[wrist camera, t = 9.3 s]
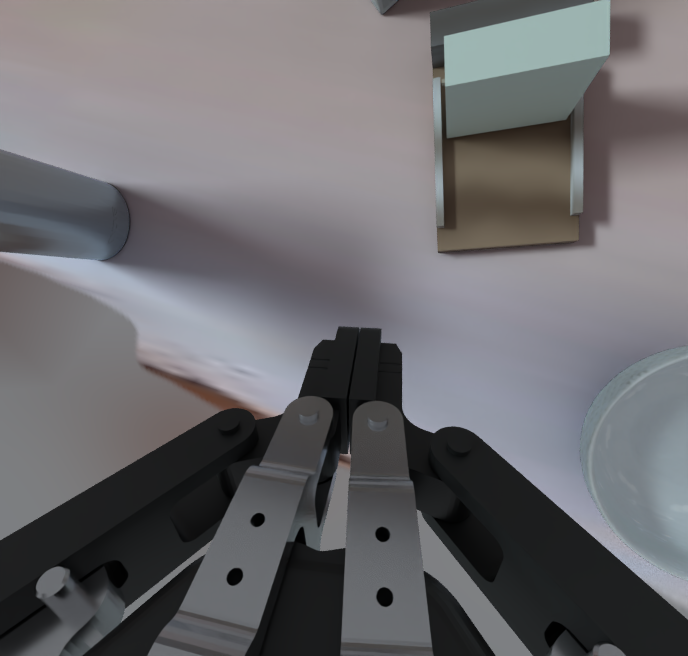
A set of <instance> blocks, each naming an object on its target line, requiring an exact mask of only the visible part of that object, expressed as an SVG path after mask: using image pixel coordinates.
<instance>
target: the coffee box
mask: <svg viewBox="0 0 688 656" xmlns="http://www.w3.org/2000/svg"><path fill="white" fill-rule="evenodd" d="M371 1H372V3H373V4H374V6H375V7H376V8H377V10H378V11H379V13H380V14H384V13H385V12H386V11H387V10H388V9H389V8H390V7H391V6H393V5H394V4H395V3H396V2H397V1H398V0H371Z"/></svg>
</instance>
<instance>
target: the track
mask: <svg viewBox="0 0 688 656" xmlns="http://www.w3.org/2000/svg"><path fill="white" fill-rule="evenodd" d="M591 2H594V0H478V1H474V2H470V3H466V4H462V5H458V6H454V7H450V8H446V9H442V10H438V11H433V12H430V28H431V53H432V65H433V107H434V144H435V181H436V218H437V241H438V253H441V252H454V251H467V250H480V249H493V248H507V247H520V246H533V245H546V244H559V243H572V242H575V241H578V240H579V214H581V213H583V124H584V94H583V95H582V97H581V98H580V100H579V101H578V103H577V104H576V106H575V107H574V109H573V110H572V112H571V113H570V115H569V116H568V118H567V119H566V120H562V121H555V122H549V123H542V124H536V125H530V126H523V127H517V128H510V129H504V130H498V131H491V132H485V133H478V134H472V135H466V136H459V137H453V138H447V130H446V98H445V60H444V36H447V35H452V34H456V33H460V32H465V31H469V30H473V29H478V28H482V27H487V26H491V25H495V24H500V23H504V22H508V21H513V20H517V19H521V18H526V17H530V16H535V15H539V14H543V13H548V12H552V11H556V10H561V9H565V8H569V7H574V6H578V5H583V4H587V3H591Z"/></svg>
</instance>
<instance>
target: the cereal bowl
mask: <svg viewBox="0 0 688 656" xmlns="http://www.w3.org/2000/svg"><path fill="white" fill-rule="evenodd" d="M580 460H581V465H582V471H583V474H584V479H585V482H586V484H587V487H588V490H589V492H590V495H591V496H592V499H593V501H594V502H595V504H596V506H597V508H598V510H599V512H600V513H601V515H602V517H603V518H604V520H605V521H606V523H607V524H608V525H609V527H610V528H611V529H612V531H613V532H614V533H615V534H616V535H617V536H618V537H619V538H620V539H621V540H622V541H623V542H624V543H625V544H626V545H627V546H628V547H629V548H630V549H631V550H633V551H634V552H635V553H637V554H638V555H639V556H640V557H642V558H643V559H645V560H646V561H648V562H649V563H651V564H652V565H654V566H656V567H657V568H659V569H661V570H663V571H665V572H667V573H669V574H671V575H673V576H676V577H678V578H680V579H683V580H685V581H688V346H683V347H678V348H674V349H668V350H666V351H663V352H659V353H657V354H655V355H651V356H649V357H647V358H644V359H642V360H640V361H639V362H637V363H635V364H633V365H631V366H629V367H628V368H627V369H625V370H624V371H622V372H621V373H620V374H619V375H617V376H616V377H615V378H614V379H612V380H611V381H610V382H609V383H608V384H607V385H606V386H605V387H604V388H603V389H602V390H601V392H600V393H599V394H598V396H597V397H596V398H595V399H594V402H593V403H592V405H591V407H590V408H589V410H588V413H587V415H586V418H585V420H584V424H583V427H582V432H581V438H580Z"/></svg>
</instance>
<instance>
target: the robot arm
mask: <svg viewBox="0 0 688 656" xmlns="http://www.w3.org/2000/svg"><path fill="white" fill-rule="evenodd" d="M128 231H129V212H128V209H127V205H126V203H125V201H124V198H123V197H122V195H121V194H120V193H119V191H118V190H117V189H116V188H115V187H113V186H112V185H110V184H108V183H106V182H103V181H100V180H97V179H93V178H90V177H87V176H84V175H81V174H77V173H75V172H71V171H68V170H65V169H62V168H59V167H55V166H52V165H49V164H46V163H43V162H39V161H36V160H33V159H30V158H27V157H23V156H20V155H17V154H14V153H11V152H7V151H4V150H1V149H0V252H9V253H20V254H32V255H44V256H56V257H66V258H78V259H90V260H105V259H109V258H111V257H113V256H114V255H115V254H117V253H118V252H119V251H120V249H121V248H122V247H123V245H124V243H125V241H126V239H127V235H128ZM349 442H350V454H351V467H350V479H349V489H348V509H347V531H346V548H343V549H336V550H329V551H320V542H321V536H322V531H323V527H324V523H325V519H326V515H327V511H328V507H329V503H330V499H331V495H332V491H333V487H334V483H335V479H336V469H337V466H338V461H339V455H340V454H348V449H349ZM417 510H419V511H421V513H422V515H423V518H424V519H425V521H426V522H427V524H428V525H429V526H430V527H431V528H432V530H433V531H434V532H435V534H436V535H437V536H438V537H439V539H440V540H441V541H442V542H443V544H444V545H445V546H446V547H447V549H448V550H449V551H450V552H451V554H452V555H453V556H454V557H455V559H456V560H457V561H458V562H459V564H460V565H461V566H462V567H463V568H464V570H465V571H466V572H467V574H468V575H469V576H470V577H471V579H472V580H473V581H474V582H475V584H476V585H477V586H478V587H479V589H480V590H481V591H482V592H483V594H484V595H485V596H486V597H487V598H488V600H489V601H490V602H491V603H492V605H493V606H494V607H495V609H496V610H497V611H498V612H499V613H500V615H501V616H502V617H503V619H504V620H505V621H506V622H507V624H508V625H509V626H510V627H511V629H512V630H513V631H514V632H515V634H516V635H517V636H518V637H519V639H520V640H521V641H522V642H523V643H524V645H525V646H526V647H527V648H528V650H529V651H530V652H531V654H532V655H533V656H688V620H687V619H686V618H685V617H684V616H683V615H682V614H680V613H679V612H678V611H677V610H676V609H675V608H674V607H673V606H671V605H670V604H669V603H668V602H667V601H666V600H665V599H663V598H662V597H661V596H660V595H659V594H658V593H657V592H655V591H654V590H653V589H652V588H651V587H650V586H649V585H647V584H646V583H645V582H644V581H643V580H642V579H641V578H639V577H638V576H637V575H636V574H635V573H634V572H633V571H631V570H630V569H629V568H628V567H627V566H626V565H625V564H623V563H622V562H621V561H620V560H619V559H618V558H617V557H615V556H614V555H613V554H612V553H611V552H610V551H609V550H607V549H606V548H605V547H604V546H603V545H602V544H601V543H599V542H598V541H597V540H596V539H595V538H594V537H593V536H591V535H590V534H589V533H588V532H587V531H586V530H585V529H583V528H582V527H581V526H580V525H579V524H578V523H577V522H575V521H574V520H573V519H572V518H571V517H570V516H569V515H567V514H566V513H565V512H564V511H563V510H562V509H561V508H559V507H558V506H557V505H556V504H555V503H554V502H553V501H551V500H550V499H549V498H548V497H547V496H546V495H545V494H543V493H542V492H541V491H540V490H539V489H538V488H537V487H535V486H534V485H533V484H532V483H531V482H530V481H529V480H527V479H526V478H525V477H524V476H523V475H522V474H521V473H519V472H518V471H517V470H516V469H515V468H514V467H513V466H511V465H510V464H509V463H508V462H507V461H506V460H505V459H503V458H502V457H501V456H500V455H499V454H498V453H497V452H495V451H494V450H493V449H492V448H491V447H490V446H489V445H487V444H486V443H485V442H484V441H483V440H482V439H481V438H479V437H478V436H477V435H476V434H474V433H473V432H471V431H469V430H467V429H464V428H460V427H445V428H442V429H440V430H438V431H437V432H435V433H431V432H428V431H426V430H423V429H420V428H418V427H417V426H415V425H413V424H412V423H411V422H410V421H409V420H408V419H407V418H406V417H405V415H404V413H403V410H402V353H401V351H400V349H399V348H398V346H397V345H396V344H391V343H381V329H379V328H361V329H359V328H358V327H338V330H337V334H336V338H335V340H322V341H321V342H320V343H319V344H318V345H317V346H316V347H315V348H314V350H313V354H312V357H311V360H310V363H309V366H308V369H307V372H306V375H305V378H304V381H303V384H302V387H301V390H300V394H299V397H298V399H296V400H294V401H293V402H291V403H290V404H289V405H288V406H287V408H286V409H285V411H284V413H283V414H281V415H278V416H275V417H270V418H265V419H259V420H255V418H254V416H253V415H252V414H251V413H250V412H249V411H247V410H244V409H239V408H232V409H227V410H224V411H221V412H219V413H217V414H215V415H214V416H212V417H210V418H208V419H207V420H206V421H203V422H202V423H200V424H198V425H197V426H195V427H193V428H192V429H190V430H188V431H186V432H185V433H183V434H181V435H179V436H178V437H176V438H175V439H173V440H171V441H169V442H168V443H166V444H164V445H162V446H161V447H159V448H157V449H156V450H154V451H152V452H150V453H149V454H147V455H145V456H144V457H142V458H140V459H139V460H137V461H135V462H134V463H132V464H130V465H128V466H127V467H125V468H123V469H121V470H120V471H118V472H116V473H115V474H113V475H111V476H110V477H108V478H106V479H104V480H103V481H101V482H99V483H98V484H96V485H94V486H92V487H91V488H89V489H87V490H86V491H84V492H82V493H81V494H79V495H77V496H75V497H74V498H72V499H70V500H69V501H67V502H65V503H64V504H62V505H60V506H58V507H57V508H55V509H53V510H51V511H50V512H48V513H46V514H45V515H43V516H41V517H40V518H38V519H36V520H34V521H33V522H31V523H29V524H28V525H26V526H24V527H23V528H21V529H19V530H17V531H16V532H14V533H12V534H11V535H9V536H7V537H6V538H4V539H2V540H0V656H495V654H494V653H493V651H492V650H491V648H490V647H489V646H488V644H487V643H486V641H485V640H484V639H483V637H482V635H481V634H480V633H479V631H478V630H477V628H476V627H475V626H474V624H473V622H472V621H471V620H470V618H469V617H468V616H467V614H466V613H465V611H464V610H463V608H462V607H461V605H460V604H459V603H458V601H457V600H456V599H455V598H454V596H453V595H452V594H451V593H450V592H449V591H448V590H447V589H446V588H445V587H444V586H443V585H442V584H441V583H440V582H439V581H438V580H437V579H435V578H434V577H432V576H431V575H430V574H428V573H427V572H425V571H423V562H422V554H421V545H420V536H419V527H418V518H417ZM212 539H213V541H212V542H211V544H210V547H209V549H208V551H207V553H206V554H205V555H204V556H202V557H200V558H199V559H197V560H196V561H194V562H193V563H191V564H190V565H189V566H188V567H186V568H185V569H184V570H183V571H182V572H180V573H179V574H178V575H177V576H176V577H174V578H173V579H172V580H171V581H170V582H168V583H167V584H166V585H165V586H164V587H163V588H161V589H160V590H159V591H158V592H157V593H156V594H154V595H153V596H152V597H151V598H150V599H148V600H147V601H146V602H145V603H144V604H143V605H141V606H140V607H139V608H138V609H137V610H135V611H134V612H133V613H132V614H131V615H130V616H128V617H127V618H126V619H125V620H124V621H122V622H121V620H122V618H123V614H124V610H125V608H127V607H128V606H129V605H130V604H132V603H133V602H134V601H135V600H137V599H138V598H139V597H140V596H142V595H143V594H144V593H145V592H147V591H148V590H149V589H150V588H152V587H153V586H154V585H155V584H157V583H158V582H159V581H160V580H162V579H163V578H164V577H165V576H167V575H168V574H169V573H170V572H172V571H173V570H174V569H176V568H177V567H178V566H179V565H181V564H182V563H183V562H185V561H186V560H187V559H188V558H190V557H191V556H192V555H193V554H195V553H196V552H197V551H198V550H200V549H201V548H202V547H203V546H205V545H206V544H207V543H208V542H210V541H211V540H212Z"/></svg>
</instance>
